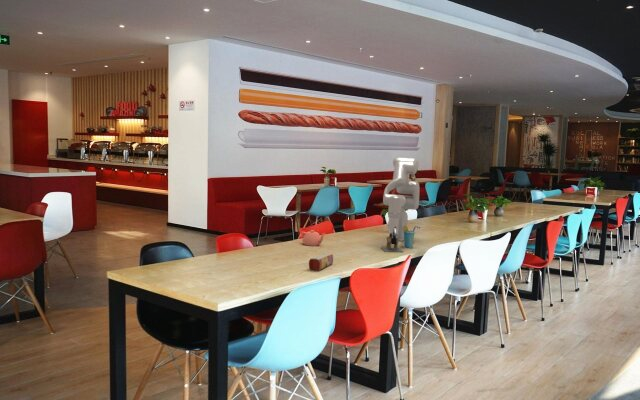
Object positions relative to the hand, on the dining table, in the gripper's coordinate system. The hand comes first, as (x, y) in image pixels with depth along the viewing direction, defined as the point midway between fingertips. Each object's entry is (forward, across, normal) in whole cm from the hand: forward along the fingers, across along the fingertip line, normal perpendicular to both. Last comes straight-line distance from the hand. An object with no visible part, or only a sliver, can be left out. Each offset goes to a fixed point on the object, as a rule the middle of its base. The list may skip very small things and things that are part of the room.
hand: (392, 243), depth 359 cm
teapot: (+5, -10, -50) cm, 51 cm away
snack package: (+5, +55, -50) cm, 74 cm away
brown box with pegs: (+3, 0, 0) cm, 3 cm away
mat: (+4, 0, 0) cm, 4 cm away
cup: (+5, -11, +14) cm, 18 cm away
